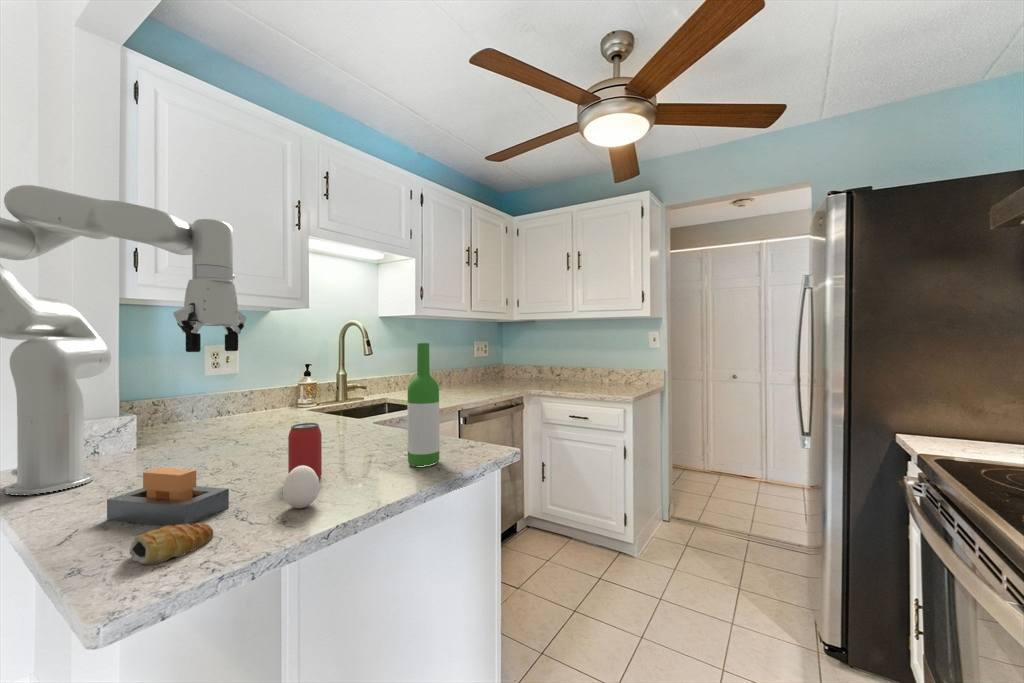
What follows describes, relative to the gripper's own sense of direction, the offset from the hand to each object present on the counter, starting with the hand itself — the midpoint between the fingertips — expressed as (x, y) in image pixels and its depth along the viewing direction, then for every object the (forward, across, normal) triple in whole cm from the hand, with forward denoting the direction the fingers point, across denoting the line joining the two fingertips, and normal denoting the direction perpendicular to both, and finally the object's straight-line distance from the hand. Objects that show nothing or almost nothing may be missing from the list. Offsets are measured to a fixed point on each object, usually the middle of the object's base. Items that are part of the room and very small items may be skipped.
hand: (213, 351), depth 95 cm
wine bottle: (+28, -18, +43) cm, 55 cm away
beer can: (+28, -2, +22) cm, 36 cm away
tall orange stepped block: (+28, +19, +11) cm, 36 cm away
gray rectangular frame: (+28, +19, +11) cm, 36 cm away
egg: (+28, +12, +32) cm, 44 cm away
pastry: (+29, +30, +24) cm, 48 cm away
